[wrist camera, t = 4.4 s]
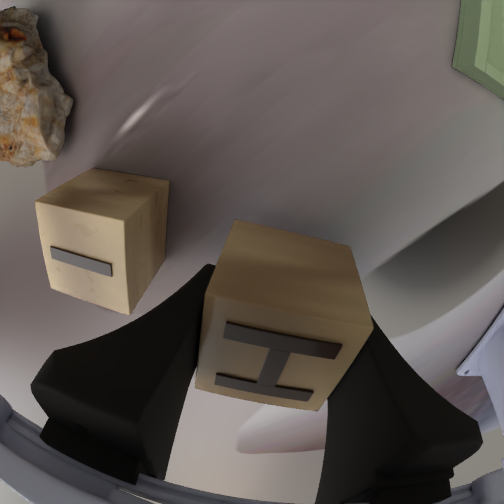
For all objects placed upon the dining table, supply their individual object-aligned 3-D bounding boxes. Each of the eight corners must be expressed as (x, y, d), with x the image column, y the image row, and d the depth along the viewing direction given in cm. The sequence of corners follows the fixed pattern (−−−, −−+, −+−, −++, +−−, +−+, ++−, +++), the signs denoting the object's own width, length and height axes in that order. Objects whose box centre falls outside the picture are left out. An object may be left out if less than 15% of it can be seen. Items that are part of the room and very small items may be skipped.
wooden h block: (350, 245, 11) (375, 331, 7) (315, 328, 13) (317, 414, 10) (235, 218, 11) (203, 295, 7) (219, 308, 14) (193, 391, 10)
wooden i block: (170, 180, 13) (123, 221, 9) (165, 260, 16) (129, 317, 12) (91, 167, 13) (33, 201, 9) (95, 242, 16) (49, 289, 12)
